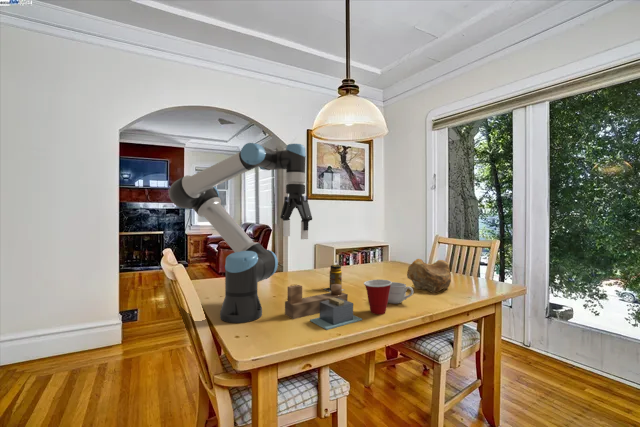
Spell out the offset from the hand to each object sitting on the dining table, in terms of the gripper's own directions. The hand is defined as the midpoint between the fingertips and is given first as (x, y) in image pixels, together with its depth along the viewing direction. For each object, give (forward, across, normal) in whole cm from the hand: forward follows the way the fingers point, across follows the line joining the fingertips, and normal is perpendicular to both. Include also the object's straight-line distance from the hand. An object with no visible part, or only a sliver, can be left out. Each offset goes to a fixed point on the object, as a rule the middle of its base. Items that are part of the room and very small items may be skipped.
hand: (295, 237), depth 122 cm
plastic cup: (+29, -21, -25) cm, 43 cm away
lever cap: (+28, -19, -6) cm, 34 cm away
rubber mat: (+28, -19, -6) cm, 35 cm away
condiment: (+29, +15, -32) cm, 46 cm away
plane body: (+29, -6, -7) cm, 30 cm away
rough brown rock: (+29, -12, -73) cm, 80 cm away
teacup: (+29, -17, -41) cm, 53 cm away
